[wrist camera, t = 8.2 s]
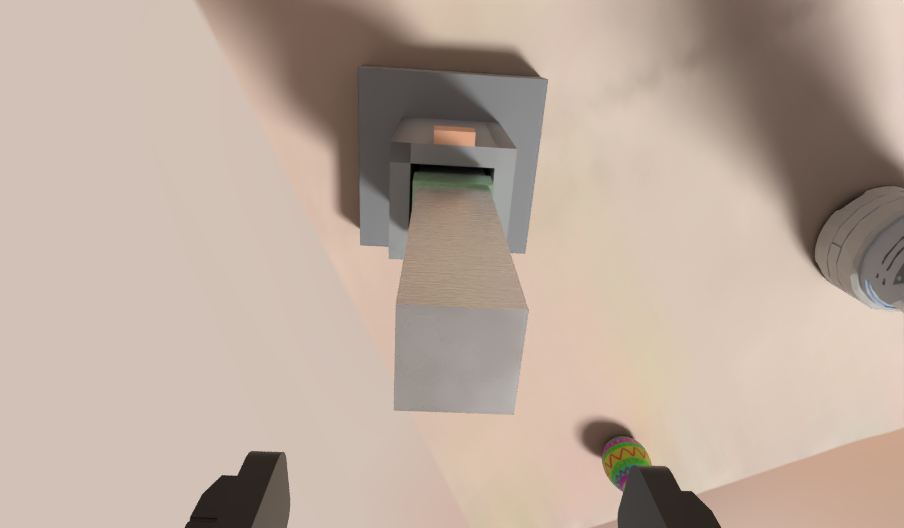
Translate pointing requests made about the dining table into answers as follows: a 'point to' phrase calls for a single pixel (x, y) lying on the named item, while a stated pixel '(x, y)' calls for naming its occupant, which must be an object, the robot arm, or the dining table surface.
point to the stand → (445, 143)
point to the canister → (867, 248)
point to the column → (457, 300)
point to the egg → (623, 459)
